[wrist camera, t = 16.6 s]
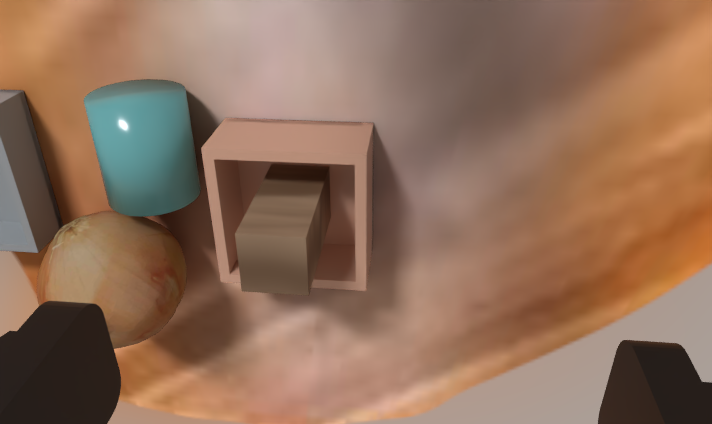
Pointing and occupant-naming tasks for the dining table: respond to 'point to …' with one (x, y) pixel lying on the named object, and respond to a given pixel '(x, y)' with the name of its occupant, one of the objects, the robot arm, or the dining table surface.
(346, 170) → the planter
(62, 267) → the onion
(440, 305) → the dining table surface
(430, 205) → the dining table surface
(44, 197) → the grey tub
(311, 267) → the walnut block
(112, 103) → the teal glossy cylinder
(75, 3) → the dining table surface
